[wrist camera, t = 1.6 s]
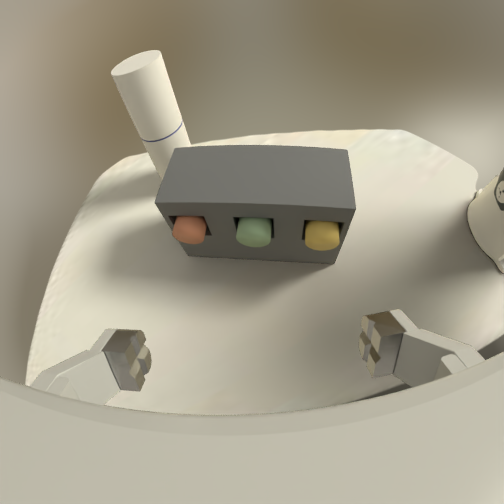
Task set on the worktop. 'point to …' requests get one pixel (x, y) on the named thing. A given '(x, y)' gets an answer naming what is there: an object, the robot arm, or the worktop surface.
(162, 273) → the worktop surface
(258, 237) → the sage green button
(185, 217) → the terracotta button
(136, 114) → the cylindrical container
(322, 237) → the ochre button
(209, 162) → the control panel
